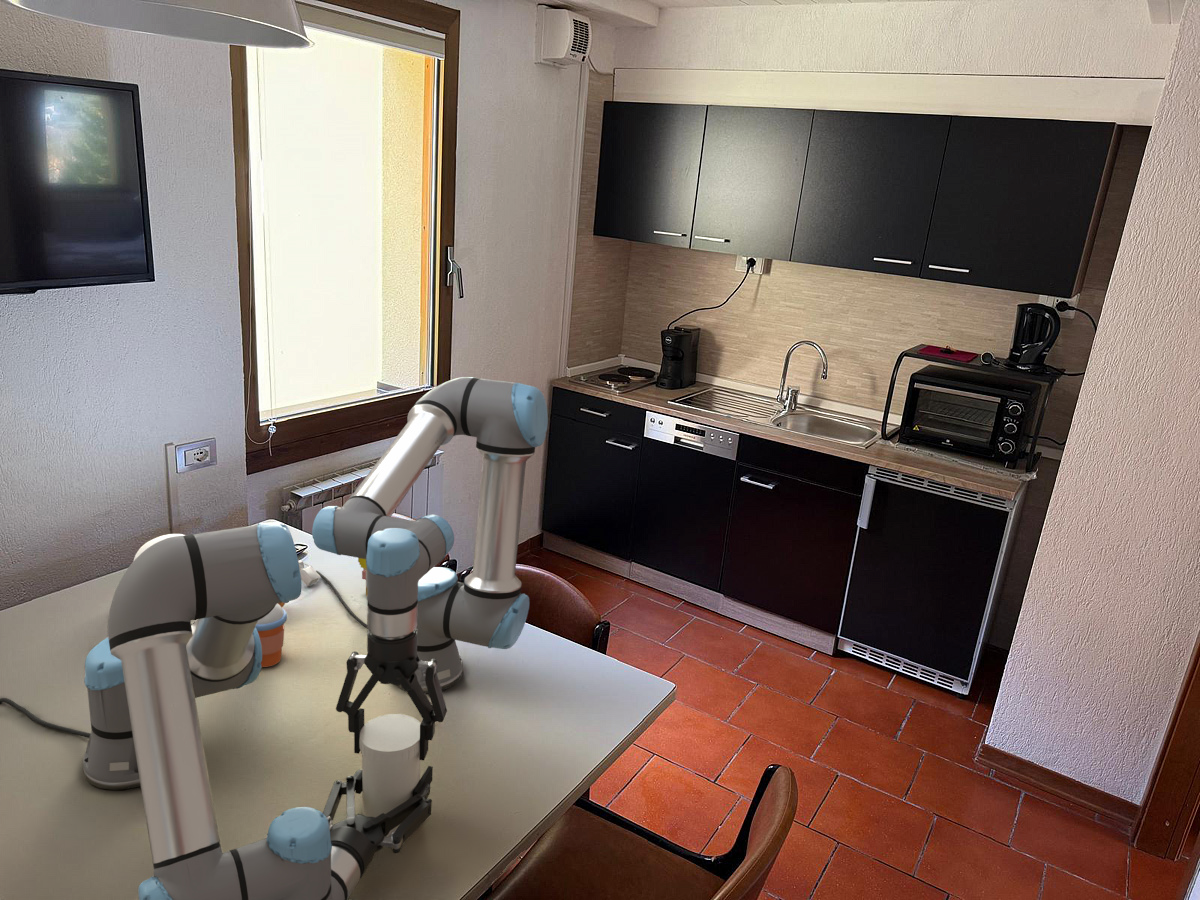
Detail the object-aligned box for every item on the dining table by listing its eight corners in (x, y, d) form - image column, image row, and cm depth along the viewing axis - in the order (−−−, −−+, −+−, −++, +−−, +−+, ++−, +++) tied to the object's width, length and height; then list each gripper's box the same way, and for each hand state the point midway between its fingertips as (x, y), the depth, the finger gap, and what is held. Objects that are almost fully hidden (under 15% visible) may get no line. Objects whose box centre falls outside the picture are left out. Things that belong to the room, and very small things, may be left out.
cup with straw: (273, 674, 177) (270, 596, 172) (233, 667, 179) (229, 589, 174) (296, 652, 186) (294, 577, 181) (258, 645, 188) (255, 571, 182)
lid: (416, 766, 133) (416, 753, 132) (352, 762, 132) (352, 749, 132) (428, 727, 142) (428, 715, 141) (368, 724, 142) (368, 711, 141)
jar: (413, 838, 137) (414, 754, 132) (356, 835, 137) (355, 750, 132) (424, 799, 146) (425, 719, 141) (370, 796, 146) (370, 715, 141)
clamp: (253, 565, 223) (254, 542, 221) (265, 560, 226) (266, 537, 224) (309, 593, 215) (310, 569, 213) (320, 588, 218) (321, 564, 216)
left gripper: (269, 870, 126) (342, 773, 147) (409, 902, 122) (463, 798, 143) (267, 828, 123) (342, 736, 144) (410, 860, 120) (465, 760, 141)
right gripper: (469, 623, 134) (465, 744, 141) (329, 609, 135) (331, 730, 142) (459, 648, 127) (455, 774, 134) (311, 633, 128) (314, 759, 134)
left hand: (402, 767), depth 144 cm, fingers closed on jar, 9 cm apart
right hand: (391, 751), depth 138 cm, fingers closed on lid, 10 cm apart
